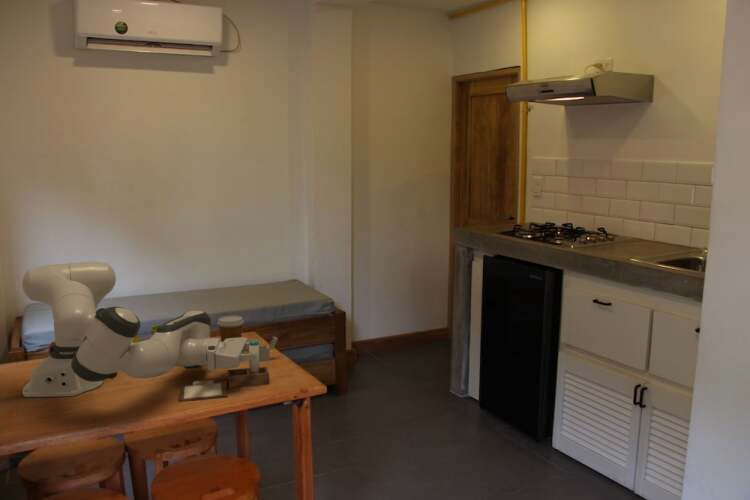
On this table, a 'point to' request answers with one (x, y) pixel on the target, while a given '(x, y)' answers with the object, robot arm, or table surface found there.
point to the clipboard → (202, 390)
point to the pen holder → (247, 377)
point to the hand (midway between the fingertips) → (258, 351)
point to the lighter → (266, 350)
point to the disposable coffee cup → (230, 327)
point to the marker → (255, 349)
